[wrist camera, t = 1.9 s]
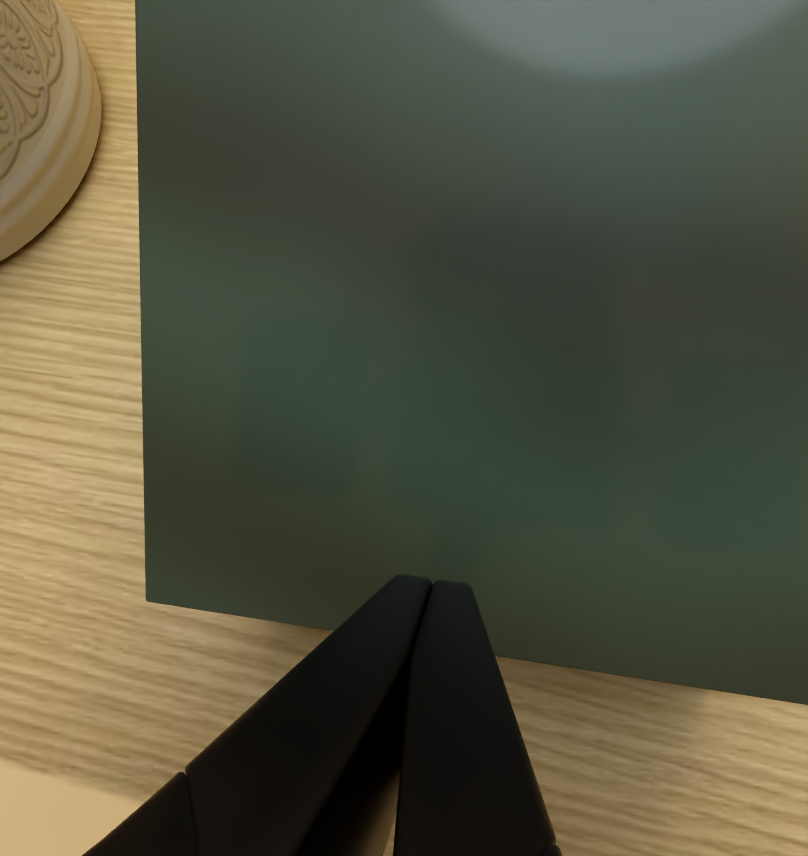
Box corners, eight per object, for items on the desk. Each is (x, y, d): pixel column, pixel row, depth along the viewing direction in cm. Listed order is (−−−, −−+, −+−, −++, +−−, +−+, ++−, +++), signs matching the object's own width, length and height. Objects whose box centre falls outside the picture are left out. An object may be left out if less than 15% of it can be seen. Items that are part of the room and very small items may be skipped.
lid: (154, -298, 12) (127, -333, 12) (1031, -344, 10) (1069, -391, 9) (163, 585, 16) (144, 602, 15) (808, 683, 14) (822, 709, 13)
